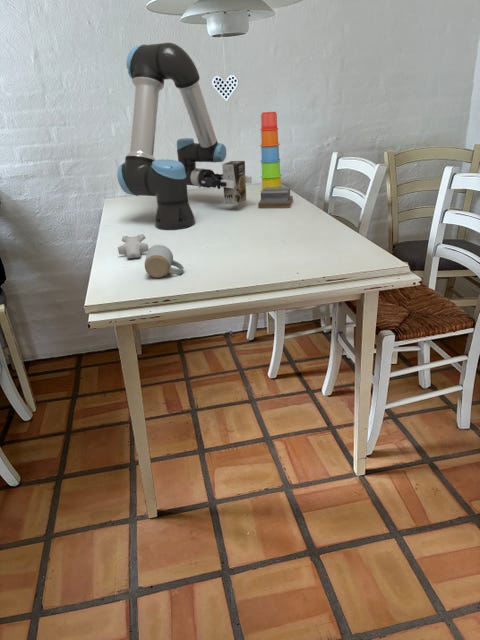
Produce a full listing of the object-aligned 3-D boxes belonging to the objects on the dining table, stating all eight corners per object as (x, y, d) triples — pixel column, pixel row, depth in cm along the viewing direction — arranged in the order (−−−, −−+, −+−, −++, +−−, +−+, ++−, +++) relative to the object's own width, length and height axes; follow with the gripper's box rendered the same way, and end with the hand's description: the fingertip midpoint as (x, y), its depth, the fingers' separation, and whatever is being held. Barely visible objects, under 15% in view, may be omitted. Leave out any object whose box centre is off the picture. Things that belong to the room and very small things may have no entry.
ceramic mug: (145, 280, 134) (141, 254, 130) (148, 269, 141) (145, 244, 137) (183, 278, 134) (180, 252, 131) (184, 267, 141) (182, 242, 138)
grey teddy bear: (116, 250, 147) (117, 231, 159) (119, 265, 150) (120, 245, 162) (147, 246, 148) (146, 228, 160) (149, 261, 151) (148, 242, 163)
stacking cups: (257, 193, 222) (254, 113, 206) (265, 189, 230) (263, 111, 215) (278, 194, 218) (277, 112, 203) (285, 189, 227) (284, 110, 211)
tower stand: (289, 208, 196) (289, 193, 193) (258, 208, 198) (257, 193, 195) (292, 200, 207) (292, 186, 204) (263, 200, 209) (262, 186, 207)
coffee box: (238, 205, 194) (236, 164, 187) (224, 204, 196) (221, 163, 189) (247, 200, 201) (245, 160, 194) (233, 199, 204) (231, 160, 196)
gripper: (222, 182, 215) (260, 186, 202) (185, 191, 200) (223, 197, 186) (221, 165, 212) (259, 168, 198) (183, 173, 197) (222, 177, 183)
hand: (242, 182), depth 192 cm, fingers closed on coffee box, 10 cm apart
